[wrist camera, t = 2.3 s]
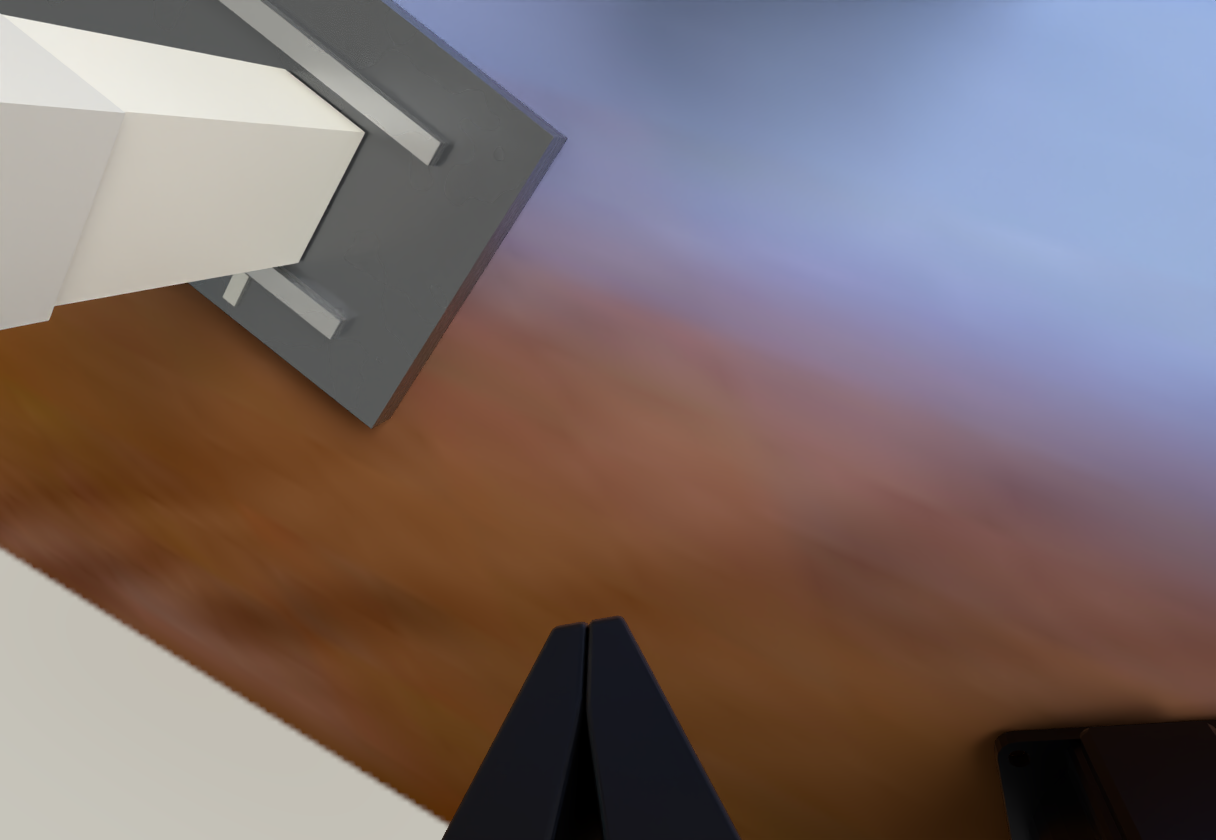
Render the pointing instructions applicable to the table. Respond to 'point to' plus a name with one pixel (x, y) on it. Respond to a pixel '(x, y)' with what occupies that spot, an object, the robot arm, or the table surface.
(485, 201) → the console
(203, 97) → the fader tab
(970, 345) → the table surface
